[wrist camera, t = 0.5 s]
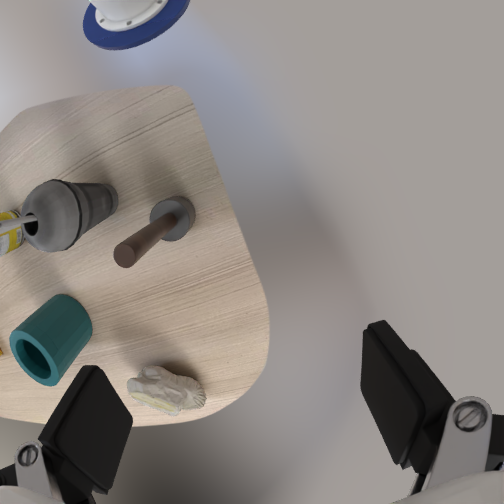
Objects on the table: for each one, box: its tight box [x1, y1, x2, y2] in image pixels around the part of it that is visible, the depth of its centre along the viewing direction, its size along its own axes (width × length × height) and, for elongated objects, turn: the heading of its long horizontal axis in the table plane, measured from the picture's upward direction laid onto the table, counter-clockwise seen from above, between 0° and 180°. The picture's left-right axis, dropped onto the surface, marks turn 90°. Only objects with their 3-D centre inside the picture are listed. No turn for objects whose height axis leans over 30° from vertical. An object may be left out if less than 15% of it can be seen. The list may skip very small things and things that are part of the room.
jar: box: [9, 294, 92, 386], centre depth 32 cm, size 10×10×12 cm
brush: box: [113, 196, 196, 268], centre depth 26 cm, size 5×5×17 cm
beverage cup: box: [0, 179, 118, 253], centre depth 23 cm, size 7×7×20 cm
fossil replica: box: [127, 366, 207, 416], centre depth 38 cm, size 12×8×10 cm
